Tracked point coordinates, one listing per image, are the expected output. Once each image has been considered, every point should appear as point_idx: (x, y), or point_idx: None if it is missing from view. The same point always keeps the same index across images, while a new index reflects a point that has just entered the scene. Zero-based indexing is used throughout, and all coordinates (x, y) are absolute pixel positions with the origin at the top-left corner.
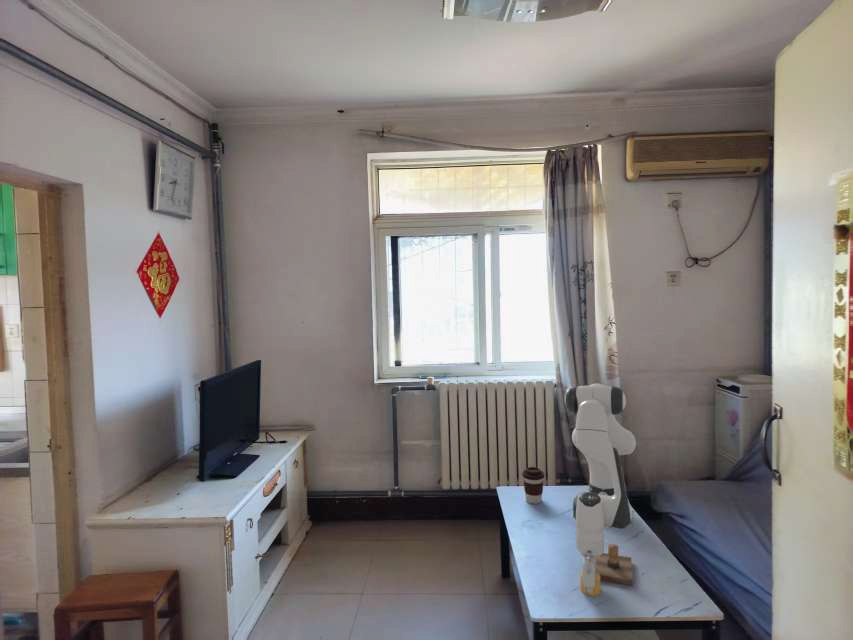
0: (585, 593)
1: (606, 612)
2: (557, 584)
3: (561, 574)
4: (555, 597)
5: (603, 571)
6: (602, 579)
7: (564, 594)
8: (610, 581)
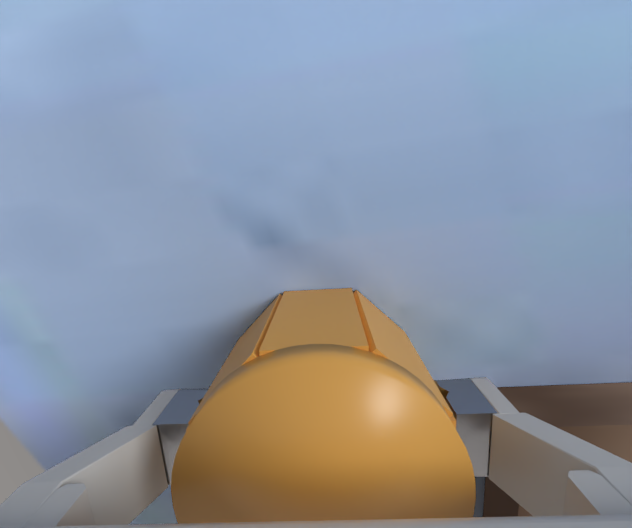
0: (242, 336)
1: None
2: (276, 43)
3: (486, 53)
4: (46, 67)
5: None
6: None
7: (140, 151)
8: (486, 511)
